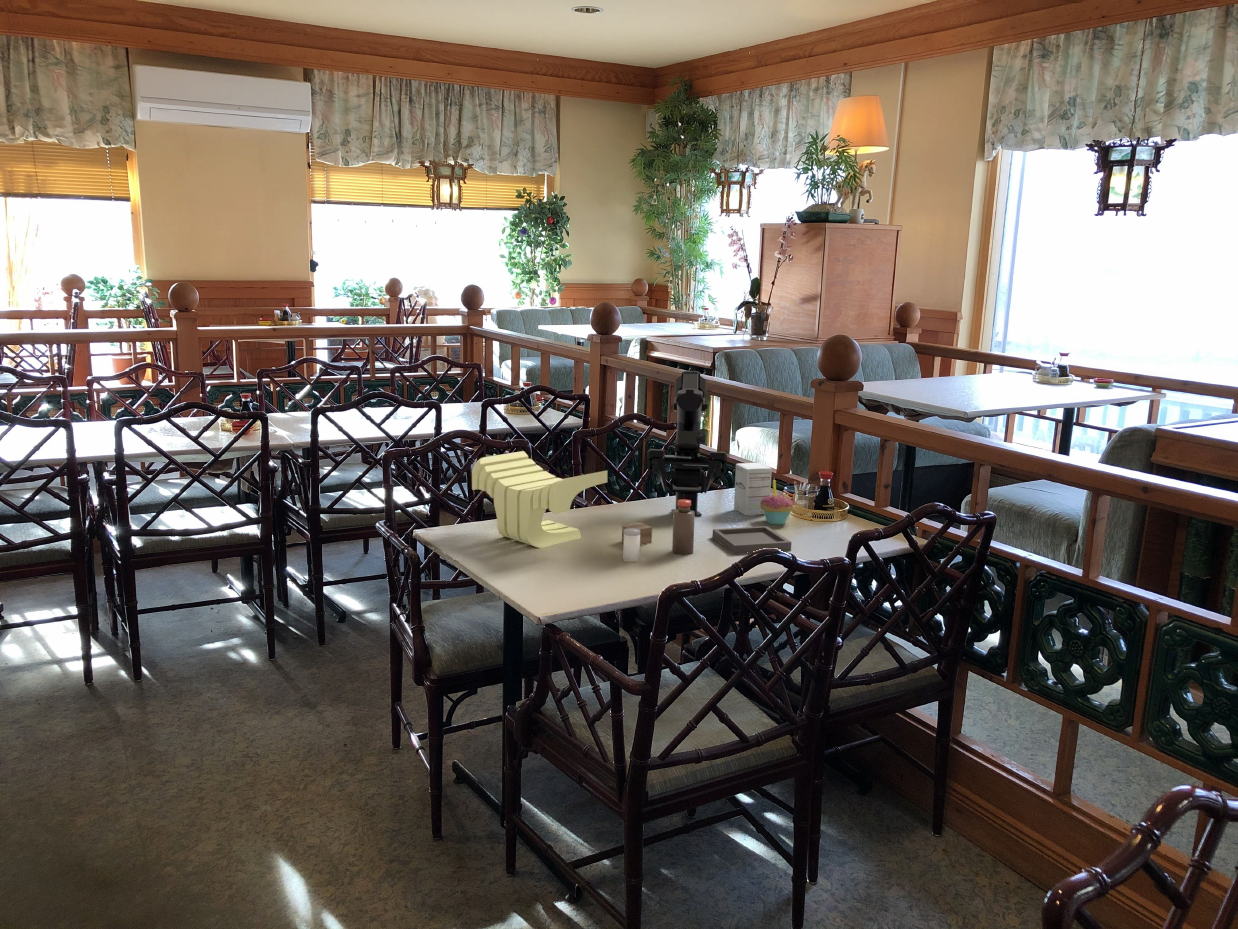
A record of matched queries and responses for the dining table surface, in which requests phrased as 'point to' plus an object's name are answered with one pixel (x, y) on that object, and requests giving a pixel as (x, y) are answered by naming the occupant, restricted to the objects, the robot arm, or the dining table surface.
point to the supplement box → (751, 487)
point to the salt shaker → (631, 544)
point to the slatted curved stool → (529, 497)
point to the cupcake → (776, 507)
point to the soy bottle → (683, 528)
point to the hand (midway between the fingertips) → (685, 491)
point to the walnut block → (644, 532)
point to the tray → (750, 539)
